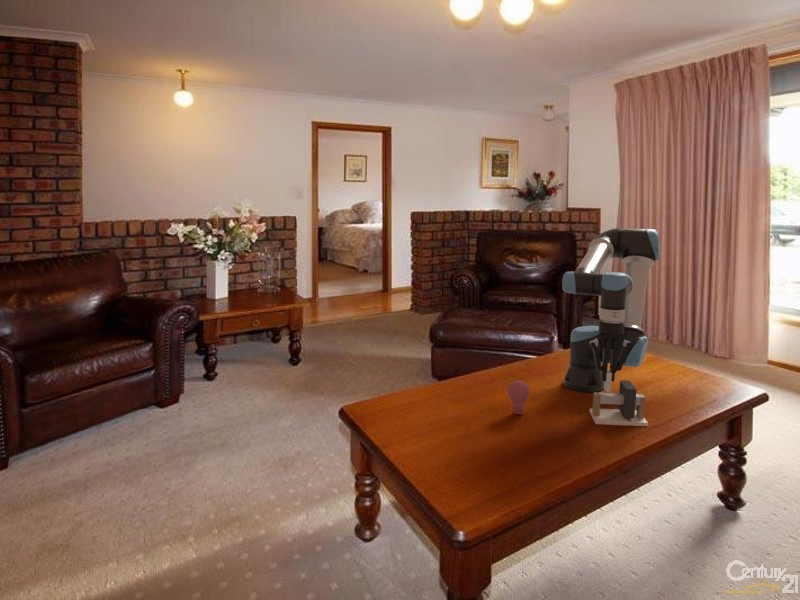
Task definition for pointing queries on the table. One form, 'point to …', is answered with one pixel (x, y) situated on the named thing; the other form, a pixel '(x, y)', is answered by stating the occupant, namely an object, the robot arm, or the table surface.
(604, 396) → the pipe rig
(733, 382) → the table surface
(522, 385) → the light bulb
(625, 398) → the dark grey block
